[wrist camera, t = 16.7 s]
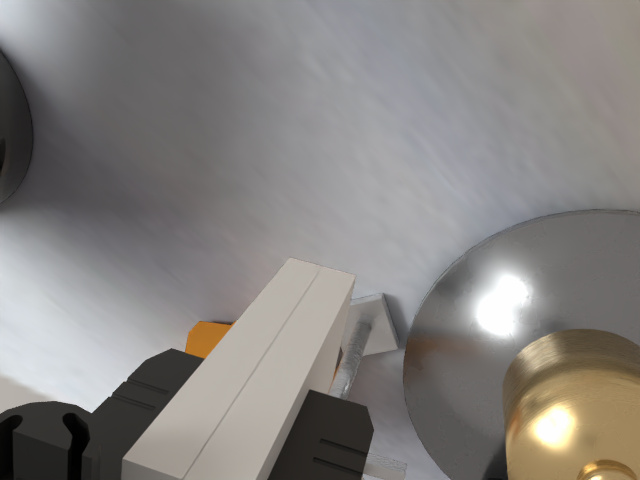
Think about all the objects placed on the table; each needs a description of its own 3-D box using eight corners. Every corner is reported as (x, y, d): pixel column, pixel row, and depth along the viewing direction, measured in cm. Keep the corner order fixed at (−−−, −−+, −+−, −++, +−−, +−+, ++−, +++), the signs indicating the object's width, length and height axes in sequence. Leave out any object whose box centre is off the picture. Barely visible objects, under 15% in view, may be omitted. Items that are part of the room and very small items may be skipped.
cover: (479, 426, 41) (480, 528, 32) (538, 305, 37) (557, 386, 29) (622, 483, 39) (662, 604, 31) (699, 364, 36) (768, 466, 27)
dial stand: (343, 357, 44) (259, 562, 27) (324, 305, 43) (225, 484, 26) (430, 341, 42) (398, 553, 25) (412, 286, 41) (367, 467, 24)
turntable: (360, 444, 45) (318, 592, 33) (484, 152, 36) (489, 212, 24) (671, 578, 42) (748, 793, 30) (895, 299, 33) (1134, 450, 21)
